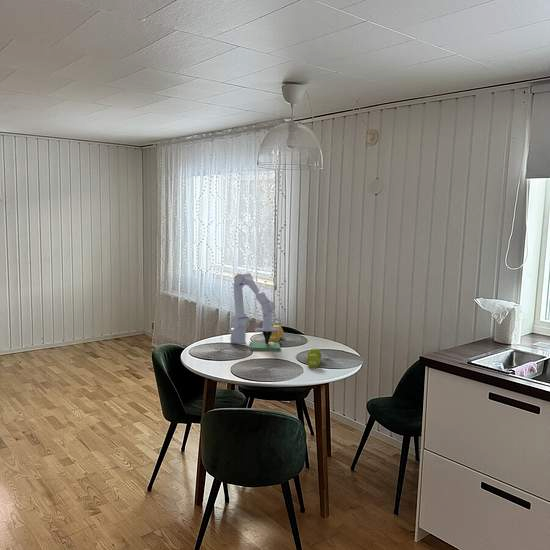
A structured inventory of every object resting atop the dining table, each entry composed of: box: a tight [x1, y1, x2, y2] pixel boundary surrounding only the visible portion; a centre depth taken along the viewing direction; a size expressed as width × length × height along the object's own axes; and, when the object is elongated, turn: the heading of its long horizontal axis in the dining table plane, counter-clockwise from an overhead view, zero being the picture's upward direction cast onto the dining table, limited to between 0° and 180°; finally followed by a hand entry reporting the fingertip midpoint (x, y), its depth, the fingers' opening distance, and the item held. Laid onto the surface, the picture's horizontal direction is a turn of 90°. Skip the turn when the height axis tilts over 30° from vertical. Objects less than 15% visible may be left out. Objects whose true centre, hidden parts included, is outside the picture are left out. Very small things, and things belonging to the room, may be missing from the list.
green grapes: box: [305, 347, 322, 369], centre depth 280 cm, size 16×8×7 cm, turn 171°
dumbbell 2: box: [268, 325, 284, 342], centre depth 332 cm, size 19×9×8 cm, turn 171°
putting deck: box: [249, 341, 282, 352], centre depth 311 cm, size 18×14×2 cm
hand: (266, 343), depth 310 cm, fingers closed
